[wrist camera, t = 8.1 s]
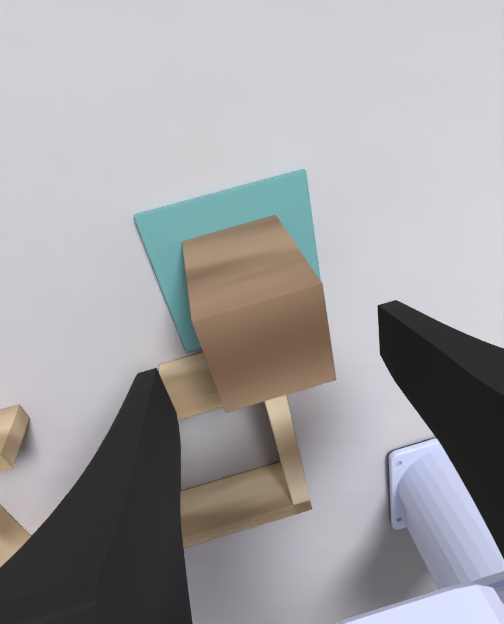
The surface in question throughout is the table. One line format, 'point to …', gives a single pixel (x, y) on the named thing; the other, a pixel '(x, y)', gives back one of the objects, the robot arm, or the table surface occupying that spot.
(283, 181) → the mat
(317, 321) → the walnut block
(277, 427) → the open wooden frame
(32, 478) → the table surface
